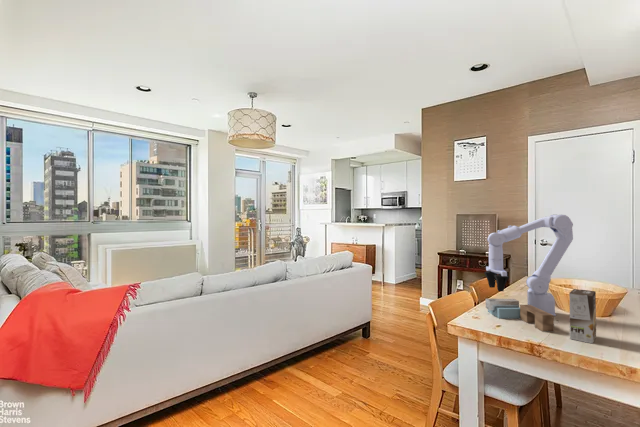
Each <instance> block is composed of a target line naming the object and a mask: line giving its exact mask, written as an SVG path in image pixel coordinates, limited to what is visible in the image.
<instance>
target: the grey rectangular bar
mask: <svg viewBox="0 0 640 427" xmlns="http://www.w3.org/2000/svg"><path fill="white" fill-rule="evenodd" d="M510 307H520V301H519V300H517V299H515V298H485V308H486V310H487V311H488V310H497V308H510Z"/></svg>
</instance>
